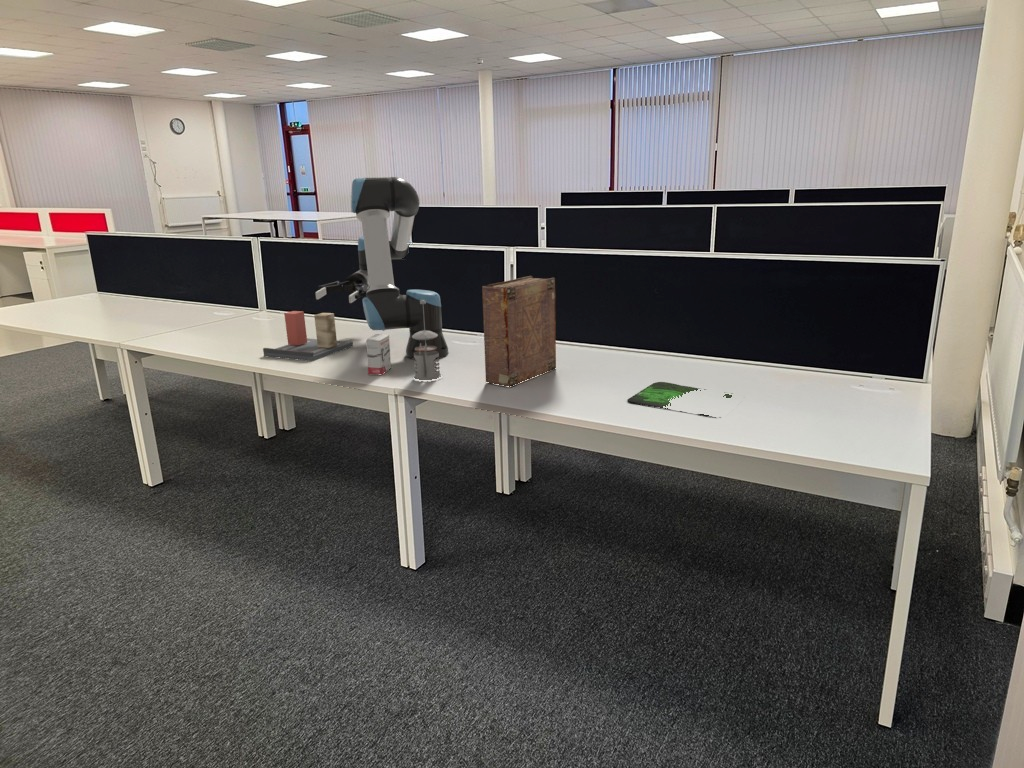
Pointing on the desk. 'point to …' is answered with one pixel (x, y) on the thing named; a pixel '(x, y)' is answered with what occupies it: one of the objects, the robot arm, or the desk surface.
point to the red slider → (295, 327)
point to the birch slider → (325, 330)
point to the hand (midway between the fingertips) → (333, 297)
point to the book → (519, 329)
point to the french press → (426, 355)
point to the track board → (305, 350)
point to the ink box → (378, 354)
